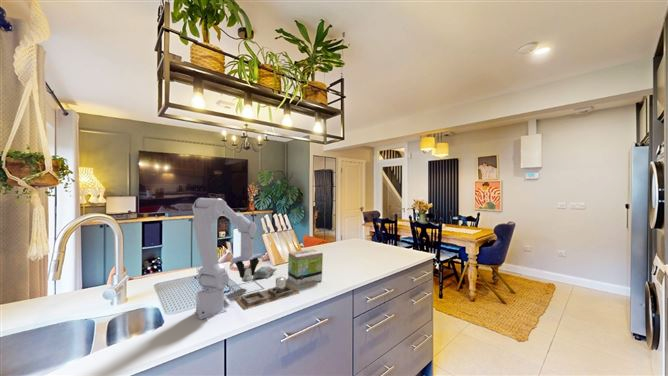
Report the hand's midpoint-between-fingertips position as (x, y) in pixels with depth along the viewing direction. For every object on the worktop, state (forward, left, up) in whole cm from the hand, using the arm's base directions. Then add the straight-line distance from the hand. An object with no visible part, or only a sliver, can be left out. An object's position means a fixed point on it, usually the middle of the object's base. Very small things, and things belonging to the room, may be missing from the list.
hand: (246, 276), depth 117 cm
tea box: (+28, -6, -7) cm, 30 cm away
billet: (+10, -14, -5) cm, 18 cm away
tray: (0, 0, -7) cm, 7 cm away
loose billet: (0, 0, -2) cm, 2 cm away
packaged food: (+14, +12, -7) cm, 20 cm away
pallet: (+4, -14, -7) cm, 16 cm away
